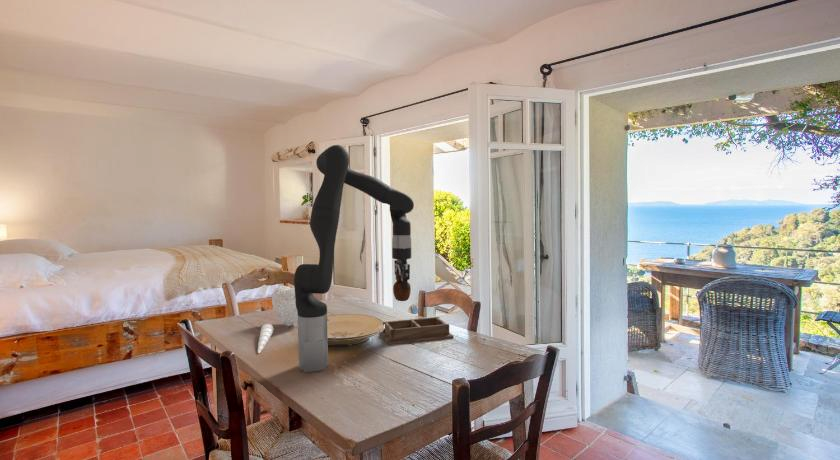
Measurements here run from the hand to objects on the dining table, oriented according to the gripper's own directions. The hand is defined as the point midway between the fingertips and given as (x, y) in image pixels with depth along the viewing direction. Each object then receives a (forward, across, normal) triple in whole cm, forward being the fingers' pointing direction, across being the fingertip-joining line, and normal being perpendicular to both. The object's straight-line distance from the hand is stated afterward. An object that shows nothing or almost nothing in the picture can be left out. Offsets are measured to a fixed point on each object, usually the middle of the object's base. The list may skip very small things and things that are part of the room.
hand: (401, 288), depth 161 cm
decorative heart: (+20, -31, -42) cm, 56 cm away
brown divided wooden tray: (+19, 0, +6) cm, 20 cm away
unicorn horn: (+20, -10, -52) cm, 56 cm away
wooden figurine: (+5, 0, 0) cm, 5 cm away
